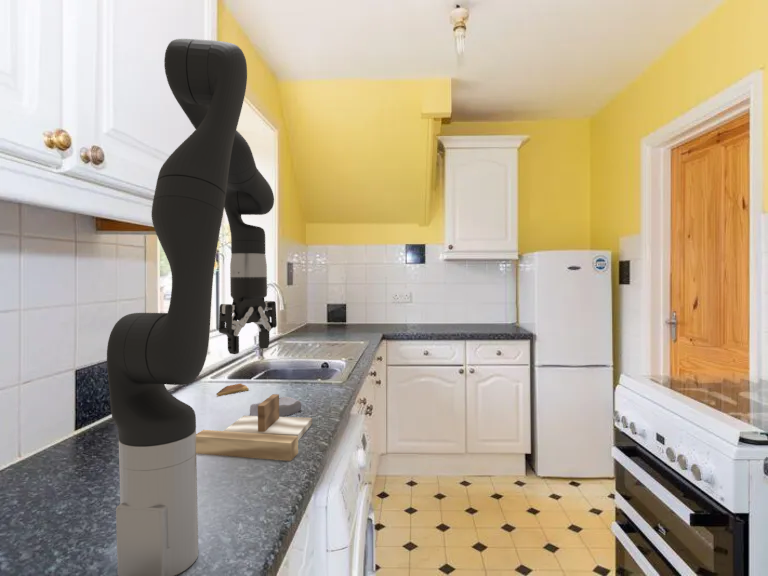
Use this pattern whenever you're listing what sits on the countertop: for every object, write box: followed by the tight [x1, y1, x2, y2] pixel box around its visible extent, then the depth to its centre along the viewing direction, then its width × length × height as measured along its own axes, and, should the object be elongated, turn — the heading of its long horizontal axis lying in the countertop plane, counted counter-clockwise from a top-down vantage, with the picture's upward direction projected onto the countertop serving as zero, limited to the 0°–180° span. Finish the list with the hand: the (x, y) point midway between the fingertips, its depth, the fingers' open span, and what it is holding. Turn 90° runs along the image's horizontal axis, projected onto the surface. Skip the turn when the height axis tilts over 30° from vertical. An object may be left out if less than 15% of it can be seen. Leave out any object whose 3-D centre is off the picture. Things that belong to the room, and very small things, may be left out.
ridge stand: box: [223, 393, 313, 442], centre depth 114 cm, size 12×18×8 cm, turn 83°
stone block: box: [249, 396, 302, 417], centre depth 128 cm, size 12×5×10 cm
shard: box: [215, 383, 249, 397], centre depth 151 cm, size 11×8×2 cm
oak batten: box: [196, 429, 299, 461], centre depth 100 cm, size 4×22×4 cm, turn 79°
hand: (249, 350), depth 102 cm, fingers open, 8 cm apart
